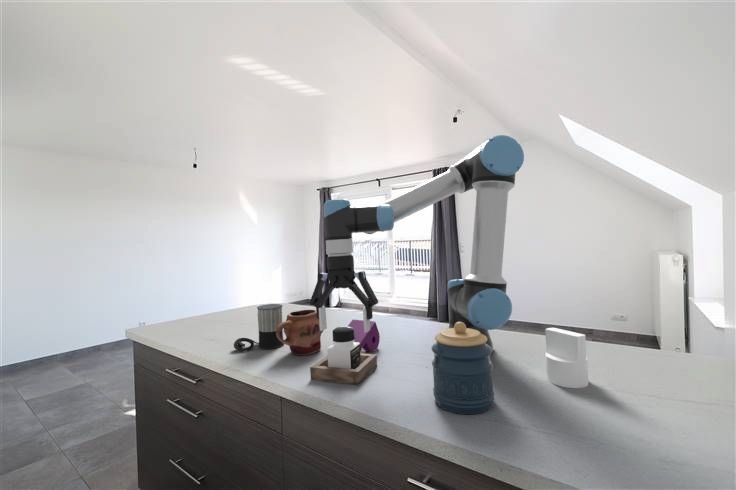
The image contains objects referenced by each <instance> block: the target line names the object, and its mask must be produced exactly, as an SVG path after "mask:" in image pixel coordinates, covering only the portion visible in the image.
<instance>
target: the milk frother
mask: <svg viewBox="0 0 736 490" xmlns="http://www.w3.org/2000/svg"><path fill="white" fill-rule="evenodd" d="M256 309H257V323H258V325H257V326H258V342H257V341H255V340H253V339H251V338H247V337H239V338H238V339H235V341H234V343H233V349H235V350H236V351H238V352H239V351H240V352H245V351H246V352H247V351H250V350H253V348H254V347H255V344H257V345H258V346H257V347H258V348H259V349H261V350H275V349H279V348H281V347H283V346H284V345H285V344H284V343H282V342H281V341H280V340H279V339H278V338H277V336H276V329H277V327H278V325H279V324H281V323H282V322H283V305H282V304H280V303H270V304H269V303H268V304H262V305H258V306H256ZM283 333H284V328H283V329H282V330H281V332H280V336H281V338H282V339H283V340H284V334H283ZM243 342H244V343H243ZM245 342H246V343H249V344H250V345H249V346H246V344H245ZM245 346H246V347H245Z"/></svg>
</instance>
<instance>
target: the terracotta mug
mask: <svg viewBox="0 0 736 490" xmlns="http://www.w3.org/2000/svg"><path fill="white" fill-rule="evenodd" d="M282 329H283V333H284V335H285V337H286V338H285V339H284V338H283V339H282V338H281V336H280V332H281V330H282ZM324 331H325V330H323V331H320V322H319V318H317V313H316V309H302V310H295V311H291V312H289V313H288V314H287V315H286V320H285V321H282V323H281V324H279V325H278V327H277V329H276V336H277V338H278V339H279V340H280V341H281V342H282V343H284V345H287V346H289V350H290V352H291V353H292V354H294V355H298V356H306V355H310V354H315V353H317V352H318V351H320V350H321V349H322V348H321V347H322V344H321V343H322V342H321V336H322V334H323V332H324Z"/></svg>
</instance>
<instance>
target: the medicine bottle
mask: <svg viewBox="0 0 736 490" xmlns="http://www.w3.org/2000/svg"><path fill="white" fill-rule="evenodd" d="M347 326H348V325H347ZM347 326H345V325H344V326H337V327H335V328H334V329H333V330H332V345H330V346H328V347H327V348H326V351H327V355H326V356H328V367H336V368H347V369H356V368H357V367H358V366H359V365H360V364H361V355H360V353H361V351H360V343H359V342H354V329H353V328H351V327H347Z"/></svg>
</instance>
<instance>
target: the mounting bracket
mask: <svg viewBox="0 0 736 490" xmlns="http://www.w3.org/2000/svg"><path fill="white" fill-rule="evenodd" d="M347 327H351V328H353V329H354V342H359V343H360V352H361V351H362V349H363V350H364V351H365V352H370V351H371V352H372V351H373V352H374V350H375V351H376V350H377V349H378V347H379V345H380V337H381V336H380V332H379V329H378V326H377V322H376V321H372V320H370V330H369V331H368V332H364V320H362V319H360V320H359V319H352V320H351V321H350V323H349V324H347ZM373 352H372V353H373Z"/></svg>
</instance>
